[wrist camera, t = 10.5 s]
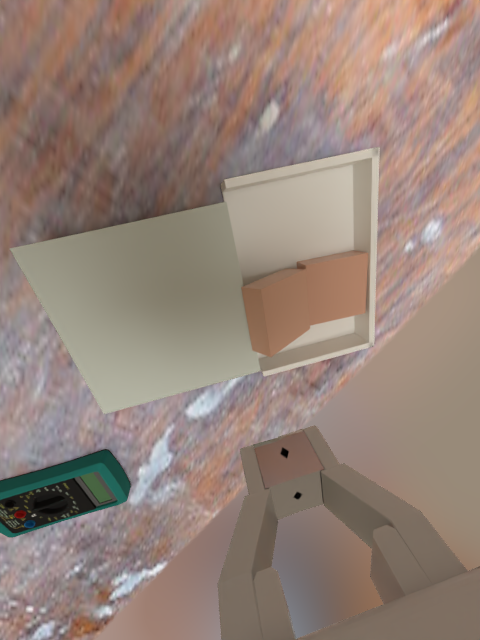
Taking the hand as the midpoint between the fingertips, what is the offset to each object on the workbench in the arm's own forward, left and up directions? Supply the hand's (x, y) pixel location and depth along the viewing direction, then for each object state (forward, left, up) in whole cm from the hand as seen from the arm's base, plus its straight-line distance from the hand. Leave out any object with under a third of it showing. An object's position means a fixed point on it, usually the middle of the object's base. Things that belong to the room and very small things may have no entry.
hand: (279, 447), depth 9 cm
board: (-2, -6, -17) cm, 18 cm away
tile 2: (0, +4, -14) cm, 15 cm away
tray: (-2, +8, -17) cm, 19 cm away
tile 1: (0, +10, -14) cm, 17 cm away
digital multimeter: (+17, -25, -17) cm, 35 cm away
